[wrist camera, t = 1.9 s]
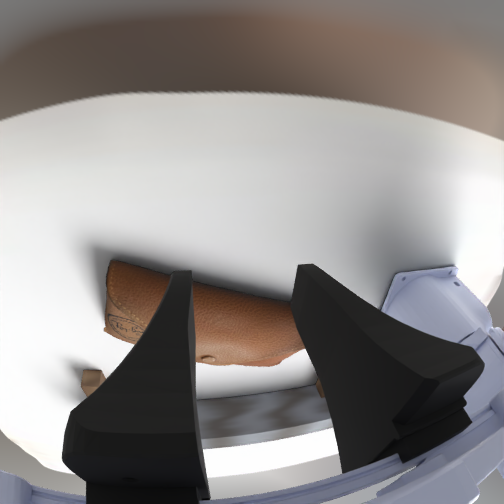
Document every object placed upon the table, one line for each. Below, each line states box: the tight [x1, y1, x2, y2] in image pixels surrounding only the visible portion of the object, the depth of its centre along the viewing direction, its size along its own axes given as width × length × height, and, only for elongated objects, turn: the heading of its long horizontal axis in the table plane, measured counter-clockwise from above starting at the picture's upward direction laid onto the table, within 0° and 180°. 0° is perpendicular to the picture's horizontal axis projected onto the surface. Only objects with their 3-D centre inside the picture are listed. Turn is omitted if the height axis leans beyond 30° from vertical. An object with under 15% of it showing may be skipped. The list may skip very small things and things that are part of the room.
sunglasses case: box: [104, 260, 305, 367], centre depth 23 cm, size 18×7×7 cm
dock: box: [81, 370, 333, 449], centre depth 28 cm, size 27×9×5 cm, turn 86°
